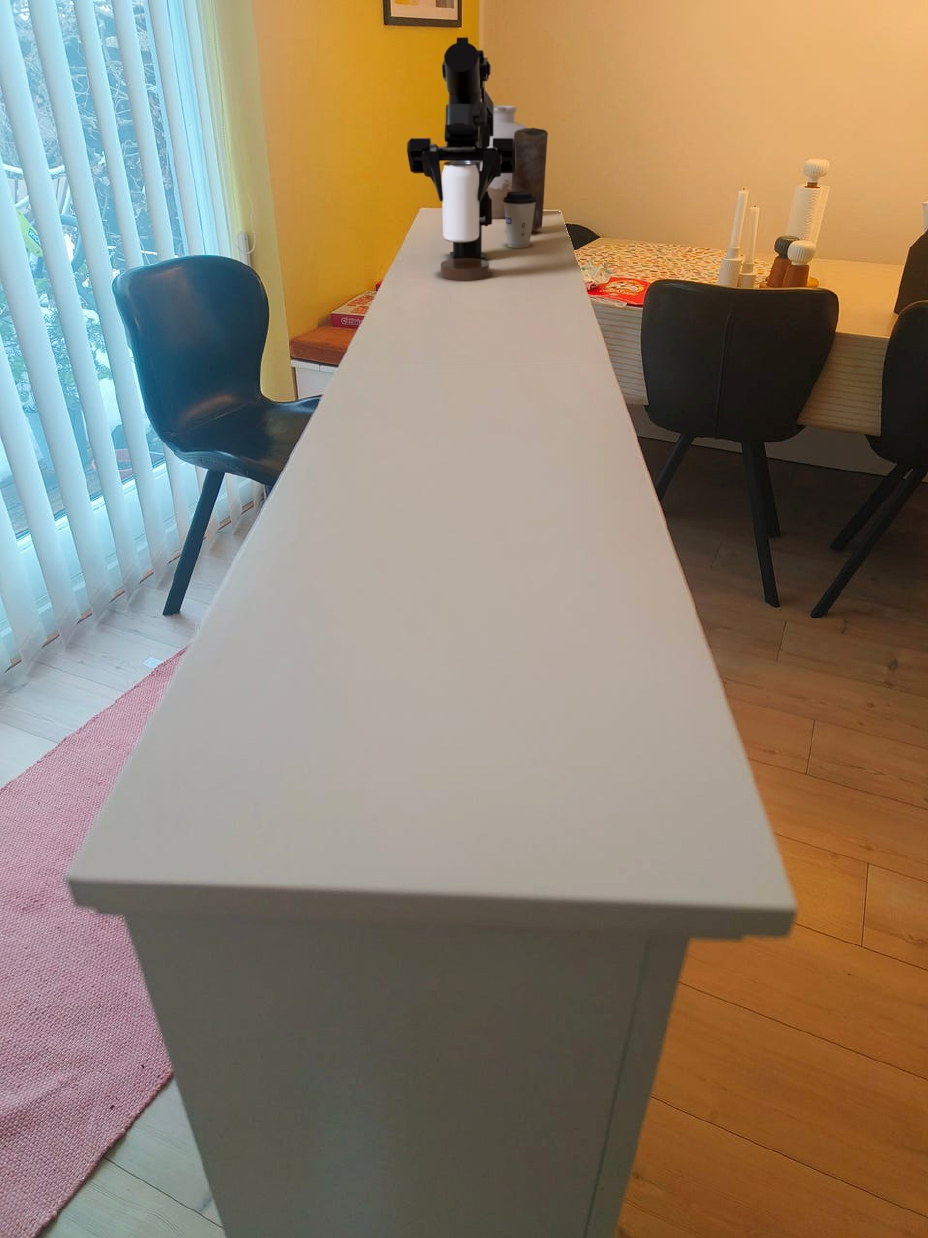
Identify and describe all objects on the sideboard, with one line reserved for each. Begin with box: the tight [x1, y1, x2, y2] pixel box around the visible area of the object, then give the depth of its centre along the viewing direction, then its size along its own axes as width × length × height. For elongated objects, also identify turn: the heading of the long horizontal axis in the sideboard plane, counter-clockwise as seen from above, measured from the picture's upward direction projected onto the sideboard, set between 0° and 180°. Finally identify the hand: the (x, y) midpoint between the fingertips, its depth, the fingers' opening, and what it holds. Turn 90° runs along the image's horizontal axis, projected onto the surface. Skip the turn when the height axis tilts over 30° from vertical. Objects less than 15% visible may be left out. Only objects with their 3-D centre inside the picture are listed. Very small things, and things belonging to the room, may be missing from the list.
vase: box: [480, 105, 528, 219], centre depth 195 cm, size 16×16×23 cm
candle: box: [511, 127, 549, 233], centre depth 179 cm, size 8×7×20 cm
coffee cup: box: [503, 191, 537, 249], centre depth 170 cm, size 7×7×10 cm
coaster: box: [440, 258, 490, 282], centre depth 152 cm, size 9×9×2 cm
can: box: [441, 161, 479, 243], centre depth 143 cm, size 6×6×12 cm
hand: (459, 199), depth 141 cm, fingers closed on can, 6 cm apart
